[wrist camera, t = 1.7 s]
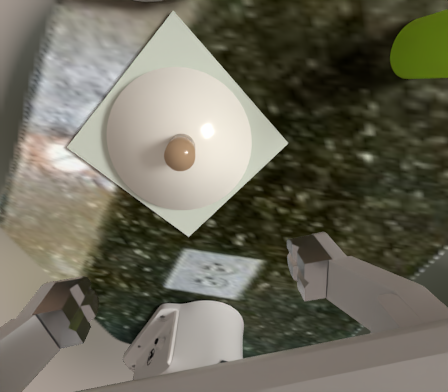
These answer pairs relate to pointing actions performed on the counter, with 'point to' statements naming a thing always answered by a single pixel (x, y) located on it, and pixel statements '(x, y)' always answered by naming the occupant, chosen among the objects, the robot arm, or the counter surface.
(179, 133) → the lid
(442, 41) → the soap dispenser
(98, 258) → the counter surface
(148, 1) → the dish
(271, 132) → the mat
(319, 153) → the counter surface
